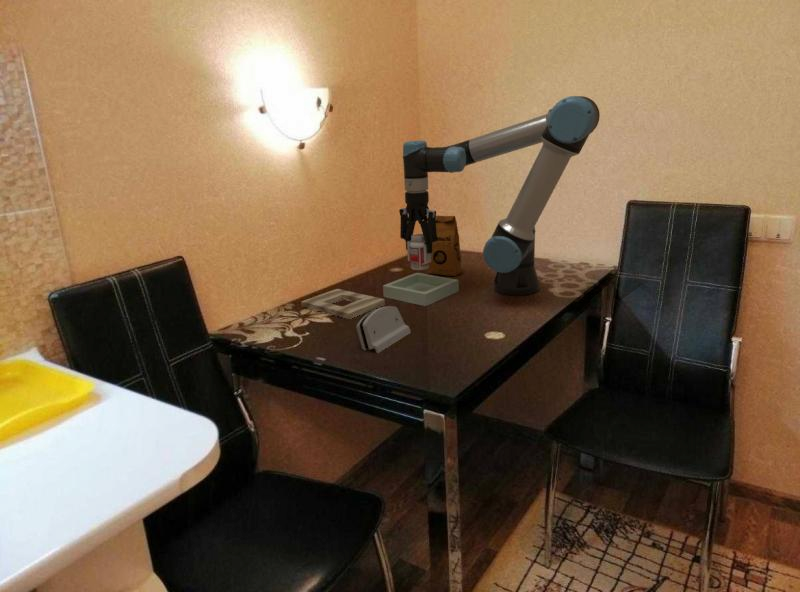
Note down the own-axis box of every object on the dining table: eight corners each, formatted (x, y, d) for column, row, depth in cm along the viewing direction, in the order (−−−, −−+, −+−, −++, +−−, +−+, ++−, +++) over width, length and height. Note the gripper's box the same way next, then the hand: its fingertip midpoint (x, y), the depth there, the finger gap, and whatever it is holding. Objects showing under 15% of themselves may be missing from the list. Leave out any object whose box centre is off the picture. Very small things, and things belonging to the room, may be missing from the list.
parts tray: (458, 291, 199) (458, 279, 198) (425, 306, 186) (425, 294, 185) (417, 283, 210) (416, 272, 209) (383, 297, 198) (382, 285, 196)
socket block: (384, 305, 189) (384, 299, 189) (349, 319, 178) (348, 313, 178) (337, 294, 203) (337, 288, 203) (301, 307, 192) (301, 301, 191)
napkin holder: (377, 353, 153) (364, 317, 152) (364, 356, 156) (351, 321, 154) (411, 332, 166) (399, 298, 165) (398, 334, 169) (387, 302, 168)
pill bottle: (428, 265, 198) (427, 232, 195) (429, 270, 192) (428, 237, 189) (410, 266, 199) (409, 233, 195) (410, 271, 193) (408, 237, 189)
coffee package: (455, 278, 213) (453, 218, 207) (424, 276, 219) (421, 217, 212) (465, 271, 222) (464, 213, 215) (435, 269, 227) (432, 212, 221)
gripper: (386, 191, 191) (390, 260, 198) (433, 194, 179) (435, 268, 186) (401, 187, 196) (404, 255, 203) (447, 191, 184) (449, 262, 191)
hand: (419, 261), depth 195 cm, fingers closed on pill bottle, 6 cm apart
